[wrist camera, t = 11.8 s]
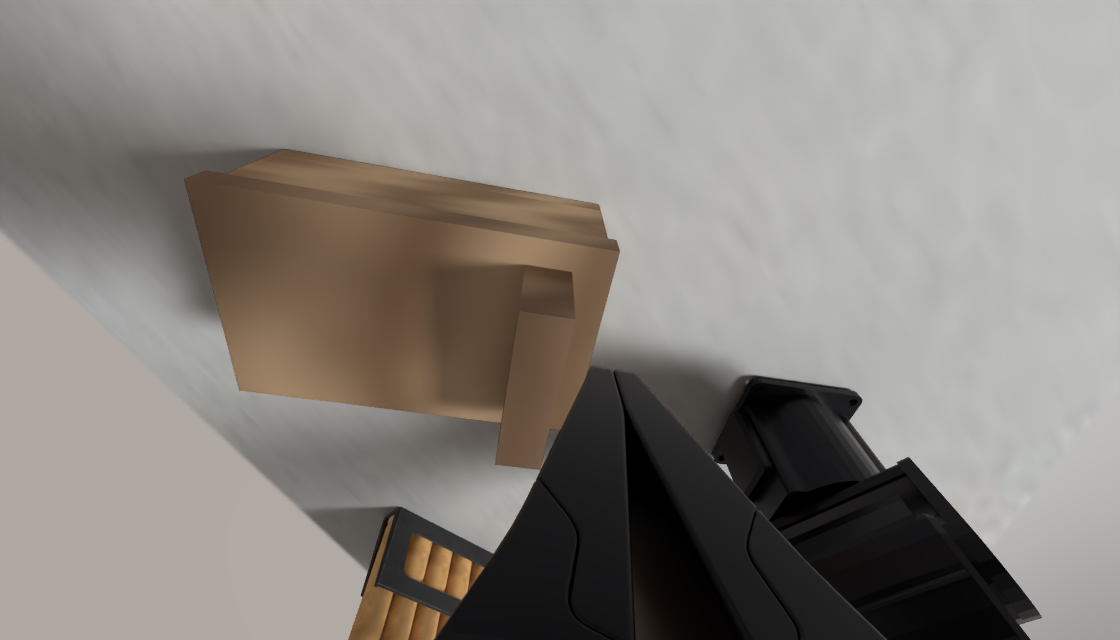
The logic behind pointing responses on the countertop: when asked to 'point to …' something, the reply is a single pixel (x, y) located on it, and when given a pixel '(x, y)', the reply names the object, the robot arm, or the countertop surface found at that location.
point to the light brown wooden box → (426, 191)
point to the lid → (403, 305)
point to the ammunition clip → (415, 579)
